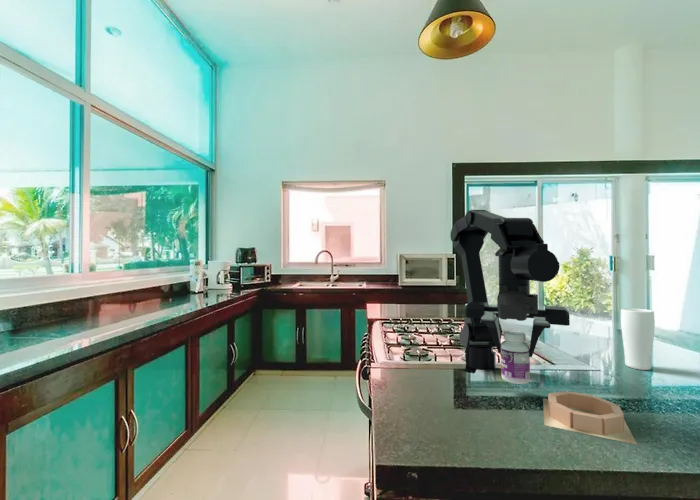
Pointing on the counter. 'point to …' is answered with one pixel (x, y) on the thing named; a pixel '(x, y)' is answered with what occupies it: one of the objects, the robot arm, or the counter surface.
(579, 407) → the collar
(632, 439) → the board
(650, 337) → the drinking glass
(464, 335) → the robot arm
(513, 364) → the pill bottle
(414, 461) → the counter surface
